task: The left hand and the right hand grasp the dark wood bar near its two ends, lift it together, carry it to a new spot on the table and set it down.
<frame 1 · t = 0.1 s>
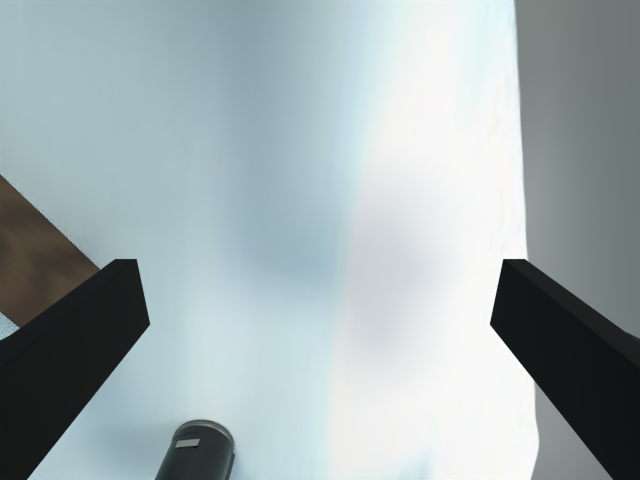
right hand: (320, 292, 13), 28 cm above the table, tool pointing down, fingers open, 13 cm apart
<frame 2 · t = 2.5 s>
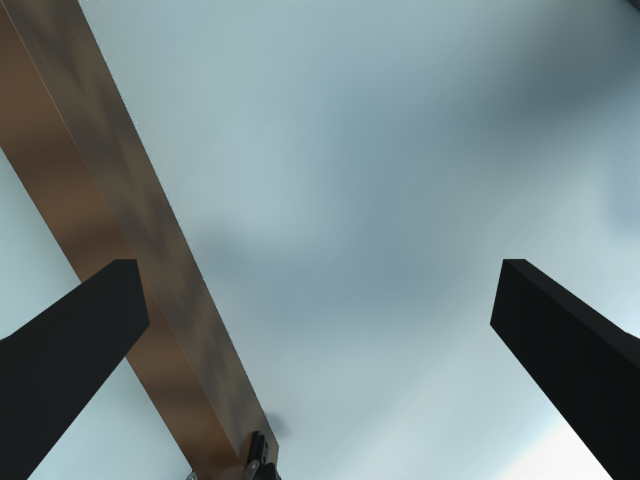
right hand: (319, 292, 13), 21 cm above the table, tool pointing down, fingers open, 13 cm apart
bar: (114, 144, 31), on the table, touching left hand
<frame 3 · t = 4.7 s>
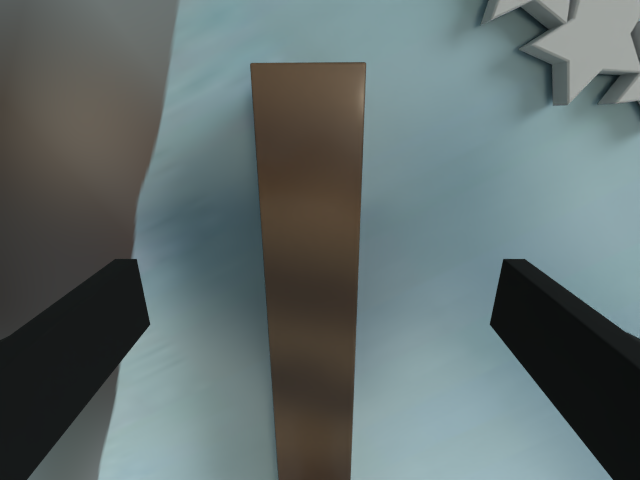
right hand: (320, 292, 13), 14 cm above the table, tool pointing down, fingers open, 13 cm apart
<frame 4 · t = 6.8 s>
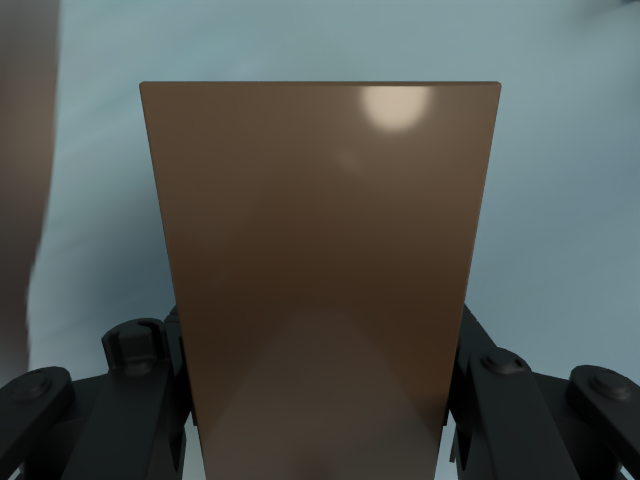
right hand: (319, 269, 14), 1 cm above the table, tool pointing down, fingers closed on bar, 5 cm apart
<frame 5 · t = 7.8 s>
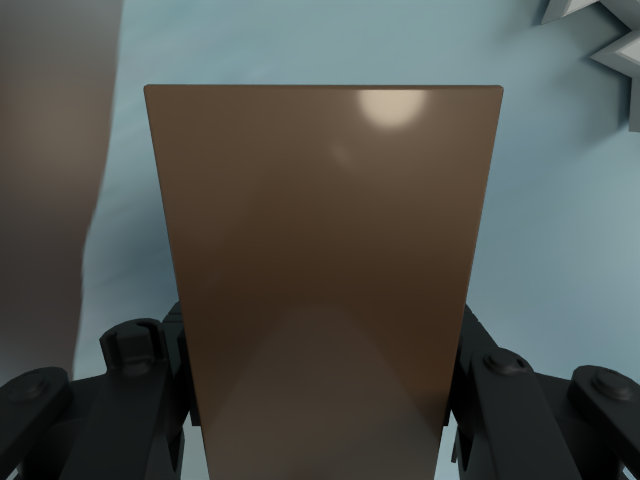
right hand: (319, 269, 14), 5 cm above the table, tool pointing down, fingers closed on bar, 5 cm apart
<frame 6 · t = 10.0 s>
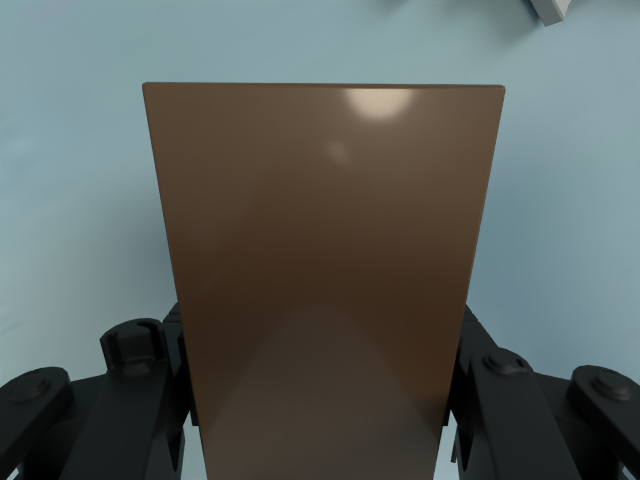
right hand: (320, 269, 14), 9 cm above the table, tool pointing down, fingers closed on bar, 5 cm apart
when the right hand's fingers open (2 cm above the table, at t = 13.1 s): bar drops 1 cm, on the table.
when the left hand's fingers open (5 cm above the table, at t = 13.3 s): bar stays where it is, on the table.
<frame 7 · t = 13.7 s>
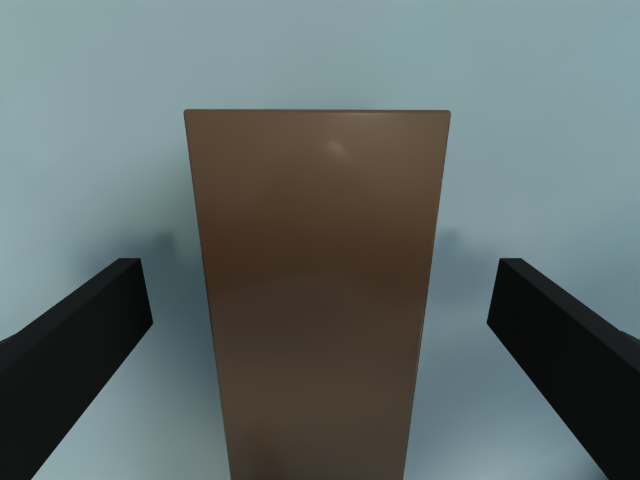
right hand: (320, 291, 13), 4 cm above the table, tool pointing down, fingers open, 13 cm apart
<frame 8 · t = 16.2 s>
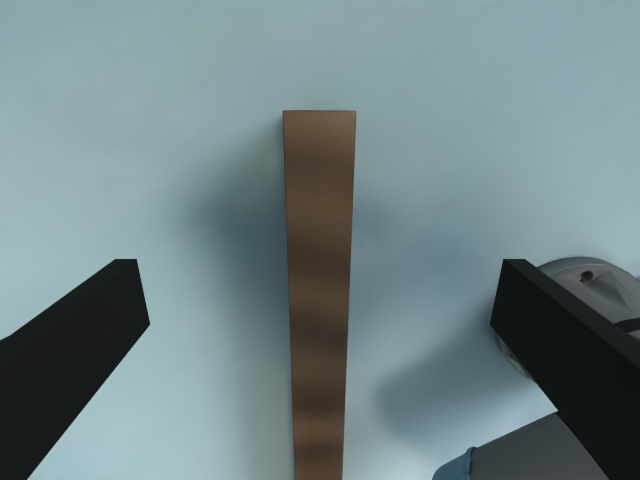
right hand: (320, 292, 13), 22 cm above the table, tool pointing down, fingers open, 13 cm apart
bar: (318, 434, 45), on the table
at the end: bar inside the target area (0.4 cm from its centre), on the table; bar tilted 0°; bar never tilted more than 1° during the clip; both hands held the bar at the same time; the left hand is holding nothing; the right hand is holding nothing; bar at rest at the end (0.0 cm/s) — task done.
